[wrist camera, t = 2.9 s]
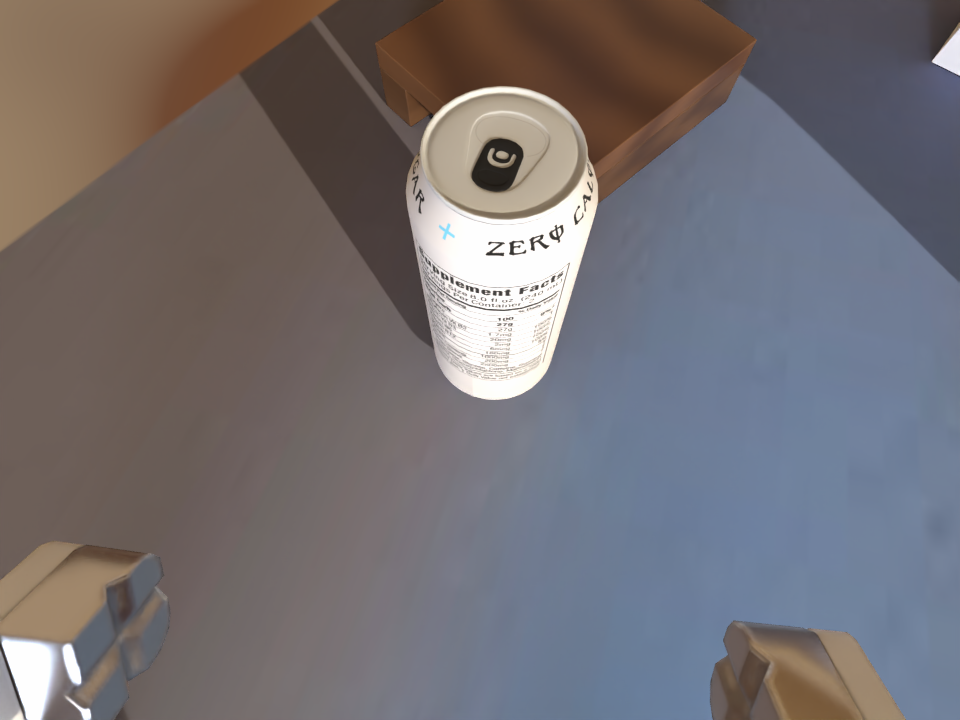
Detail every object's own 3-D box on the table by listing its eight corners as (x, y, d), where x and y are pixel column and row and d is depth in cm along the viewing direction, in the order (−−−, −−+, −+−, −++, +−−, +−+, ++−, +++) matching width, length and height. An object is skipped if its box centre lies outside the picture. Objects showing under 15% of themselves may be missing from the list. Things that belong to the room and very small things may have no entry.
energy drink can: (566, 319, 32) (633, 101, 18) (529, 422, 30) (573, 267, 16) (460, 284, 32) (444, 49, 18) (418, 382, 30) (364, 201, 16)
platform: (567, -14, 41) (577, -84, 37) (726, 102, 37) (757, 39, 33) (386, 105, 37) (374, 42, 33) (542, 248, 33) (551, 198, 29)
